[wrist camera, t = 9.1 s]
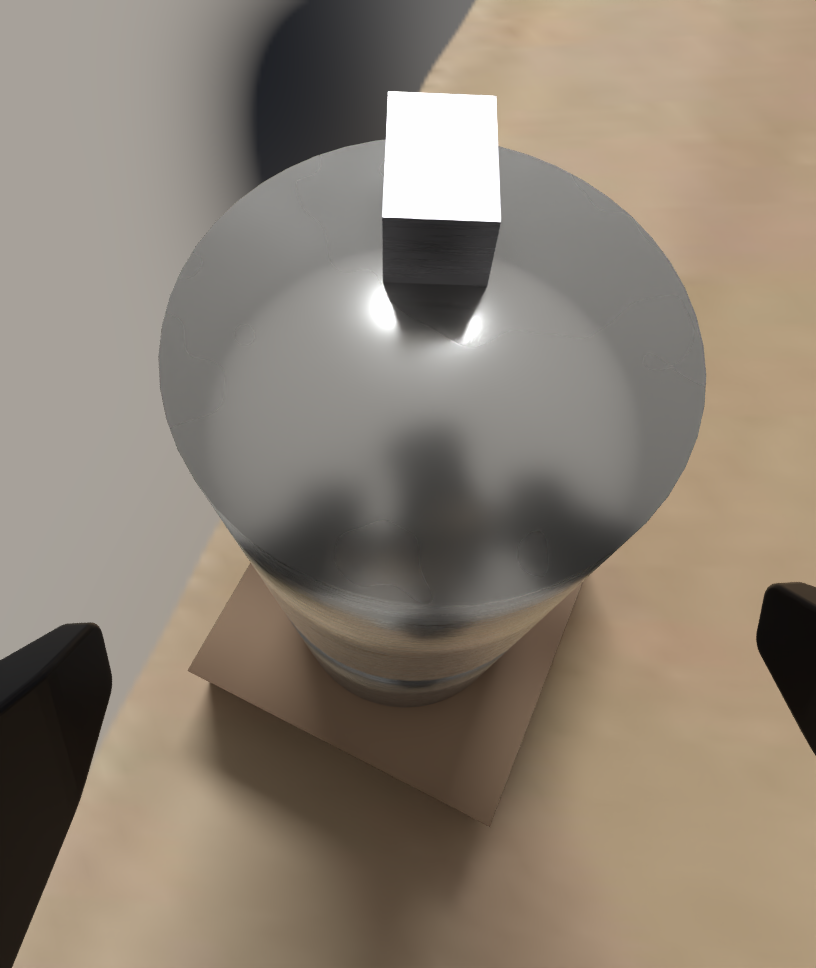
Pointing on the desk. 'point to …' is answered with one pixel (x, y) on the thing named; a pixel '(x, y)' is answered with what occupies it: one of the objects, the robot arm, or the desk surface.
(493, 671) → the stand
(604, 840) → the desk surface
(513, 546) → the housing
